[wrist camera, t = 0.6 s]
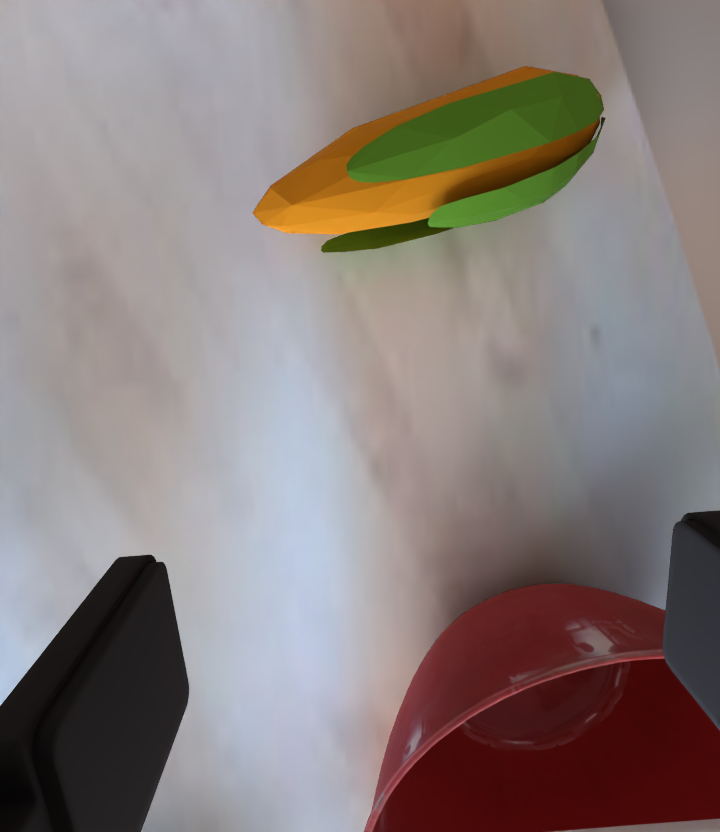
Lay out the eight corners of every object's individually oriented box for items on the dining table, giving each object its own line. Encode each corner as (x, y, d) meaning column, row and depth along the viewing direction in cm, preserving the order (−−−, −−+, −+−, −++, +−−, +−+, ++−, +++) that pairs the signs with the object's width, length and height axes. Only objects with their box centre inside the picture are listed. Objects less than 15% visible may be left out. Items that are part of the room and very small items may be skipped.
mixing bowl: (720, 756, 47) (896, 987, 32) (404, 833, 48) (430, 1088, 33) (681, 464, 39) (887, 586, 24) (308, 566, 41) (286, 740, 26)
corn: (651, 166, 26) (265, 285, 27) (586, 196, 34) (285, 289, 35) (622, 1, 25) (216, 134, 26) (561, 71, 32) (247, 172, 33)
